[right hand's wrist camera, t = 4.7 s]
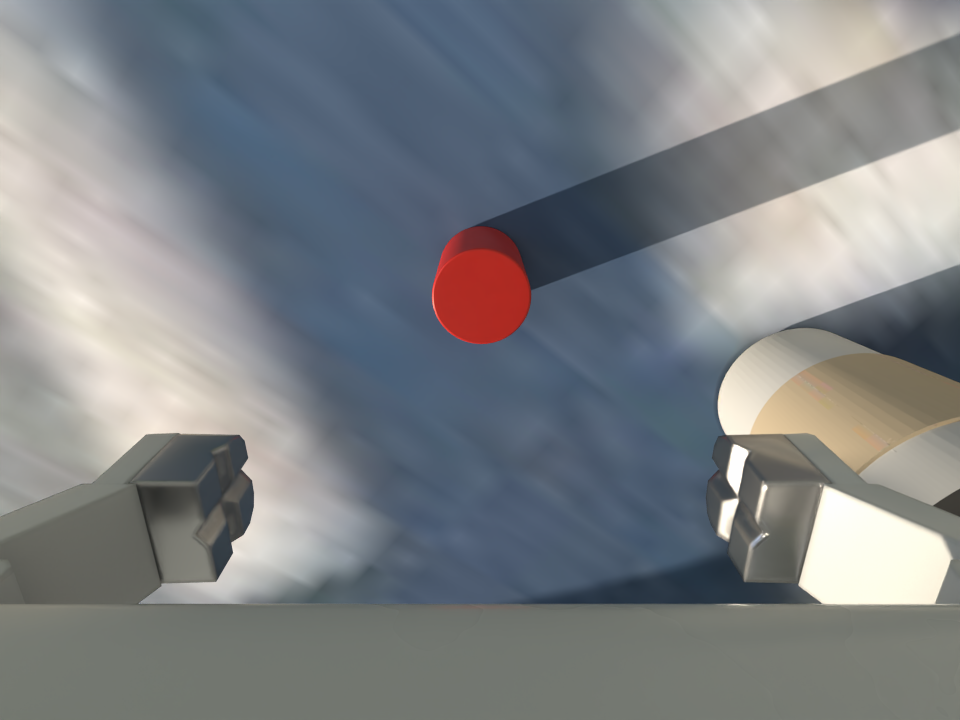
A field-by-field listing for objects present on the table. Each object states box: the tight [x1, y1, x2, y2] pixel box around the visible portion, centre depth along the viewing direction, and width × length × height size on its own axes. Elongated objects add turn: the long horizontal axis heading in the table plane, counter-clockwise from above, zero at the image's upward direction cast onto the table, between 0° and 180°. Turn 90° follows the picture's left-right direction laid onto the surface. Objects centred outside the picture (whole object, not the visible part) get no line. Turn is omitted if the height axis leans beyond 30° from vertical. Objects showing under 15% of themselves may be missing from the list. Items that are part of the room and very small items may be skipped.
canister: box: [432, 226, 531, 344], centre depth 23 cm, size 4×4×5 cm
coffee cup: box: [718, 328, 960, 517], centre depth 20 cm, size 9×9×15 cm
